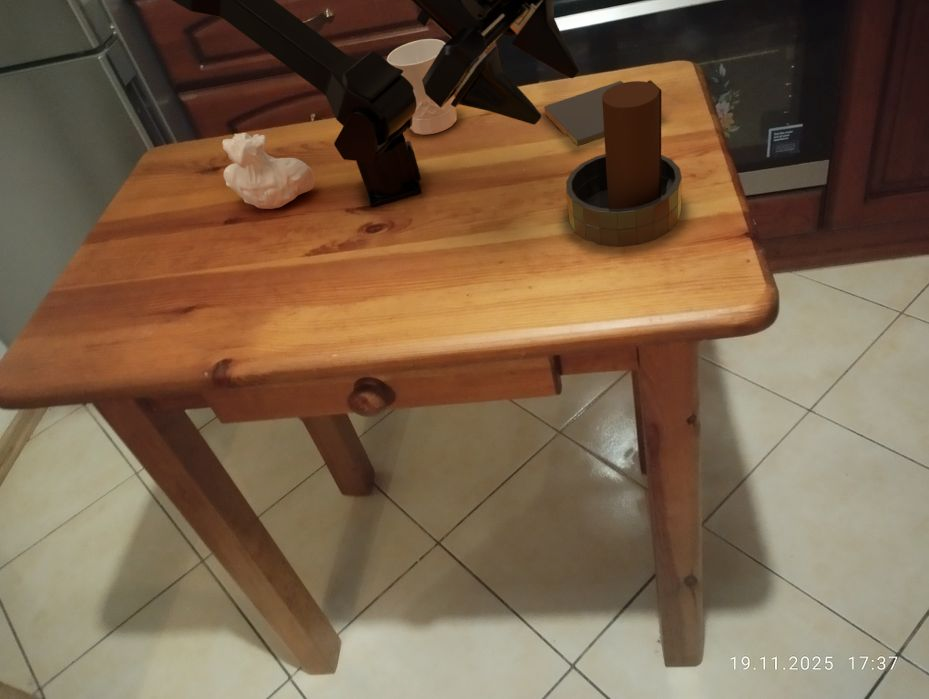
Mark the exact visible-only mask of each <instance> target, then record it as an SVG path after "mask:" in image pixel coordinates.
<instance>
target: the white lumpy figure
mask: <svg viewBox="0 0 929 699" xmlns="http://www.w3.org/2000/svg"><path fill="white" fill-rule="evenodd" d="M233 135H234V136H233V137H232V138H223V140H222V143H221V144H222V149H223V150H224V151H225V152H226V153H227V155H228V159H229V160H231V162H232V163H231V164H229V165H227V166H226V167H225V168H224V170H223V179H224V181H225V185H226V186H227V187H228V188H230V189H231V190H232V191H234V192H235V193H236V194H237V195H238V196H240V197H241V198H242V200H243V202H244V203H245V204H247V205H251V206H254V207H256V208H258V209H262V210H265V209H266V210H273V209H278V208H282V207H283V206H285V205H287V204H288V203H290V202H292V201H293V200H295V199H296V198H297V197H298V196H299V195H302V194H304V193H307V192H309V191H312V190H313V188H314V186H315V176H314V173H313V171H312V168H311V167H310V166H309V165H308V164H307V163H306V162H304V161H302V160H301V159H299V158H297V157H273V155H269V154H268V153H266V151H265V147H264V146H265V145H266V143H267V137H266V135H265V134H258V133H256V134H254V135H253V136H251V135H250V134H248V133H247V132H240V133H234V134H233Z"/></svg>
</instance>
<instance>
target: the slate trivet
mask: <svg viewBox="0 0 929 699" xmlns="http://www.w3.org/2000/svg"><path fill="white" fill-rule="evenodd" d="M621 83H624V81H623V80H618V81H616V82H613V83H609V84H606V85H604V86H600V87H598V88H595V89H591V90H589V91H586V92H582V93H580V94H577V95H574V96H571V97H568V98H564V99H562V100H558V101H556V102H555V101H554V102H553V103H550V104H546V105H545V106H543V109H544V115H545V116H546V117H547V118H548V119H549V120H550V121H551V123H553V124H554V125H555V127H556V128H557V129H558V130H559V131H560V132H561V133H562V134H563V135H566V136H567V138H569V139H570V140H571V141H572V142H573V143H574V144H575V145H576V146H577V147H579V146H582V145H585V144H588V143H591V142H594V141H597V140H600V139H603V138H604V122H603V105H602V96H603V94H604V92H605V91H606V90H608V89H609V88H611V87H613V86H615V85H618V84H621Z"/></svg>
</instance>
